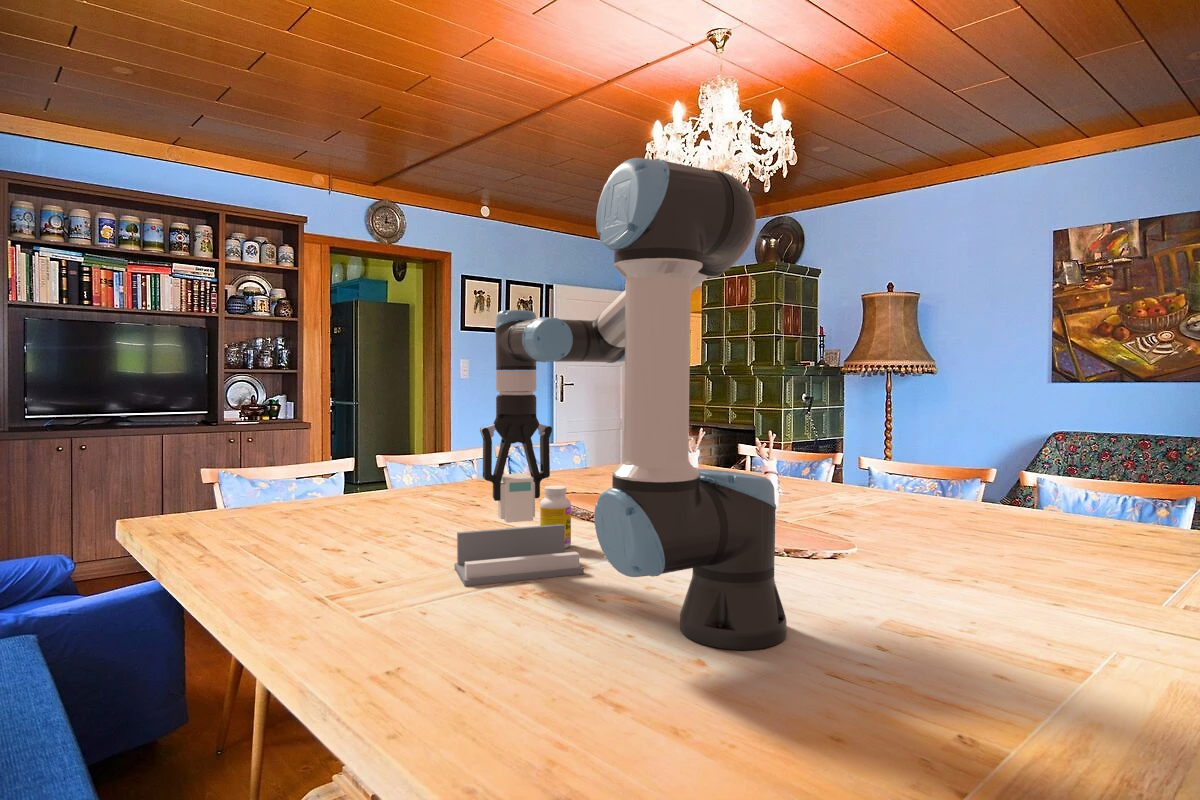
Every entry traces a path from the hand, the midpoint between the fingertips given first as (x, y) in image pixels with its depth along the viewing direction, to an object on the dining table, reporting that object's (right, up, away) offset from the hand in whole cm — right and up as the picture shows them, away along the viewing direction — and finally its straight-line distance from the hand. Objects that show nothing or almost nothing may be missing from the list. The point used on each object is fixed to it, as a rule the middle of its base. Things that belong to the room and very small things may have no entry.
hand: (516, 516), depth 135 cm
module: (0, 0, 0) cm, 0 cm away
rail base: (0, -10, 0) cm, 10 cm away
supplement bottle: (+6, -10, +19) cm, 22 cm away
